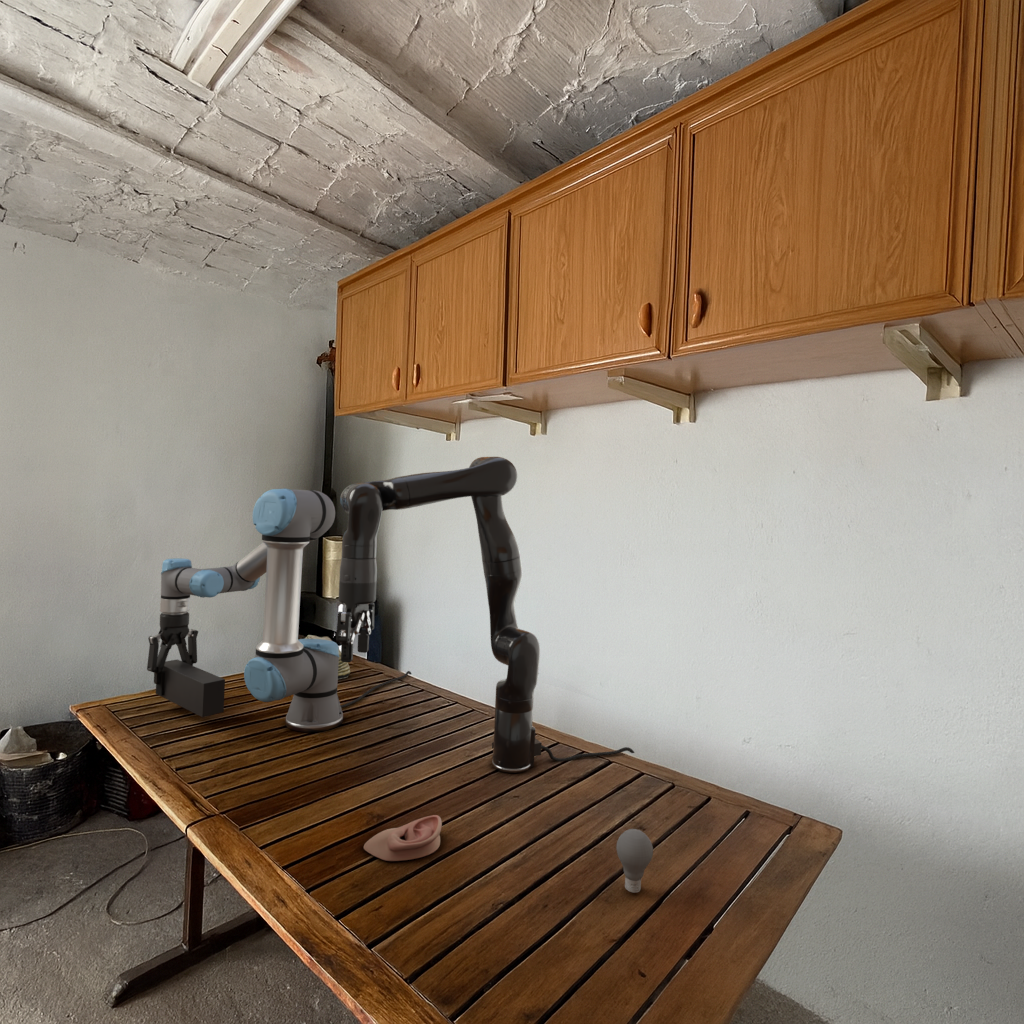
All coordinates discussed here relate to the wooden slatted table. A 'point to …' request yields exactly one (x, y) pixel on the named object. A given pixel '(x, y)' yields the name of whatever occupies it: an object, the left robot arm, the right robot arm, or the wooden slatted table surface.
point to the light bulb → (634, 857)
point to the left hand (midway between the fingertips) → (171, 691)
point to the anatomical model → (407, 840)
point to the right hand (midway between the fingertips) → (355, 656)
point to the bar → (193, 688)
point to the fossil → (342, 666)
